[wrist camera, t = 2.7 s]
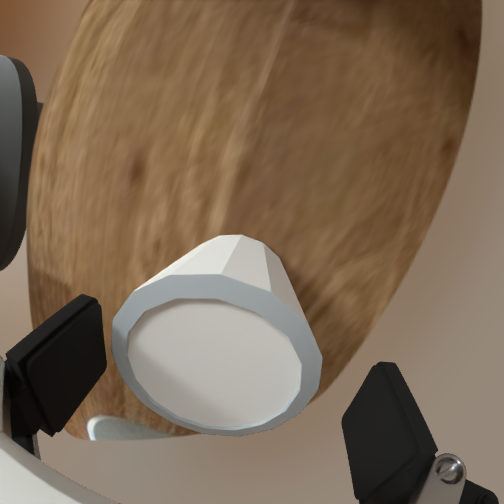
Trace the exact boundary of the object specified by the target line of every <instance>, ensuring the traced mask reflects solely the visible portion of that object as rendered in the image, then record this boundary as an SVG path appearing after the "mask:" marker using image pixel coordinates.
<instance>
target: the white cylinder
mask: <svg viewBox="0 0 504 504" xmlns="http://www.w3.org/2000/svg"><path fill="white" fill-rule="evenodd" d="M111 352H112V355H113V357H114V360H115V363H116V365H117V368H118V371H119V373H120V376H121V378H122V380H123V381H124V382H125V384H126V385H127V386H128V387H129V388H130V390H131V391H132V392H133V393H134V394H135V395H136V397H137V398H138V399H139V400H140V401H141V402H142V403H143V404H144V405H145V406H147V407H148V408H149V409H151V410H152V411H154V412H155V413H157V414H159V415H160V416H162V417H163V418H165V419H166V420H168V421H170V422H171V423H173V424H176V425H179V426H182V427H185V428H188V429H191V430H194V431H197V432H200V433H204V434H211V435H225V436H244V435H249V434H254V433H259V432H263V431H268V430H272V429H274V428H276V427H278V426H279V425H281V424H283V423H285V422H286V421H288V420H290V419H291V418H293V417H295V416H297V415H298V414H300V413H301V411H302V410H303V409H304V408H305V406H306V405H307V404H308V402H309V401H310V400H311V398H312V397H313V396H314V394H315V393H316V392H317V390H318V388H319V381H320V374H321V366H322V358H323V357H322V355H321V353H320V350H319V348H318V345H317V343H316V341H315V338H314V336H313V334H312V331H311V329H310V327H309V324H308V322H307V320H306V317H305V315H304V313H303V310H302V308H301V306H300V303H299V301H298V299H297V296H296V294H295V292H294V290H293V287H292V285H291V283H290V280H289V278H288V276H287V274H286V271H285V269H284V267H283V265H282V263H281V260H280V258H279V257H278V256H277V255H276V254H275V253H274V252H273V251H272V250H271V249H270V248H268V247H267V246H266V245H265V244H264V243H263V242H260V241H257V240H255V239H252V238H249V237H246V236H244V235H223V236H218V237H216V238H213V239H211V240H209V241H207V242H205V243H203V244H201V245H199V246H198V247H196V248H195V249H193V250H192V251H190V252H189V253H187V254H186V255H184V256H183V257H182V258H180V259H179V260H177V261H176V262H174V263H173V264H171V265H170V266H168V267H167V268H166V269H164V270H163V271H161V272H160V273H158V274H157V275H156V276H154V277H153V278H151V279H150V280H149V281H147V282H146V283H144V284H143V285H141V286H140V287H139V288H137V289H136V290H134V291H133V292H132V293H131V295H130V296H129V297H128V299H127V300H126V302H125V303H124V304H123V306H122V307H121V309H120V310H119V312H118V313H117V314H116V316H115V317H114V319H113V327H112V339H111Z"/></svg>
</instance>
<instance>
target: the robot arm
mask: <svg viewBox="0 0 504 504" xmlns="http://www.w3.org/2000/svg"><path fill="white" fill-rule="evenodd" d="M6 357H7V360H6V361H4V360H3V358H2V357H1V356H0V504H120V503H117V502H115V501H113V500H111V499H108V498H106V497H104V496H102V495H100V494H98V493H95V492H93V491H92V490H89V489H87V488H86V487H83V486H82V485H80V484H78V483H76V482H75V481H73V480H71V479H69V478H68V477H66V476H64V475H62V474H61V473H59V472H58V471H56V470H54V469H53V468H51V467H50V466H48V465H46V464H45V463H44V462H42V461H41V458H40V452H39V446H38V440H37V432H38V431H39V429H41V430H42V431H43V432H45V433H47V434H48V435H50V436H51V437H53V435H54V434H55V433H56V432H60V431H61V430H62V429H63V428H64V426H65V425H66V423H67V422H68V420H69V419H70V418H71V416H72V415H73V413H74V412H75V411H76V409H77V408H78V407H79V405H80V404H81V402H82V401H83V400H84V398H85V397H86V396H87V394H88V393H89V392H90V390H91V389H92V388H93V386H94V385H95V384H96V382H97V381H98V380H99V378H100V377H101V376H102V374H103V373H104V372H105V370H106V367H107V360H106V352H105V344H104V334H103V323H102V309H101V305H100V304H98V301H97V299H96V298H93V297H90V296H87V295H85V294H81V295H79V296H78V297H76V298H75V299H74V300H72V301H71V302H70V303H68V304H67V305H66V306H64V307H63V308H62V309H60V310H59V311H58V312H56V313H55V314H54V315H53V316H51V317H50V318H49V319H47V320H46V321H45V322H44V323H42V324H41V325H40V326H38V327H37V328H36V329H35V330H33V331H32V332H31V333H30V334H29V335H27V336H26V337H25V338H24V339H22V340H21V341H20V342H19V343H18V344H16V345H15V346H14V347H13V348H12V349H10V350H9V351H8V352H7V353H6ZM342 429H343V433H344V439H345V444H346V449H347V454H348V460H349V465H350V471H351V476H352V483H353V489H354V495H355V498H356V499H357V500H359V504H499V502H498V498H497V497H496V495H495V494H494V493H493V492H491V491H490V490H487V489H485V488H483V487H481V486H479V485H477V484H475V483H473V482H471V481H469V480H467V479H466V467H465V465H464V463H463V462H462V460H461V459H460V458H458V457H457V456H455V455H453V454H449V453H444V454H441V455H439V456H438V457H437V458H436V457H435V453H436V452H437V451H438V448H437V446H436V444H435V442H434V440H433V438H432V435H431V433H430V431H429V429H428V426H427V424H426V422H425V420H424V418H423V416H422V414H421V412H420V409H419V407H418V406H417V403H416V402H415V399H414V397H413V395H412V393H411V392H410V390H409V388H408V386H407V384H406V382H405V380H404V378H403V376H402V374H401V372H400V371H399V368H398V367H397V365H396V364H395V363H392V362H379V363H377V365H374V366H373V367H372V368H371V370H370V372H369V373H368V375H367V377H366V379H365V381H364V382H363V384H362V386H361V387H360V389H359V391H358V393H357V394H356V396H355V398H354V399H353V401H352V402H351V404H350V406H349V407H348V409H347V410H346V412H345V413H344V415H343V418H342Z"/></svg>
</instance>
